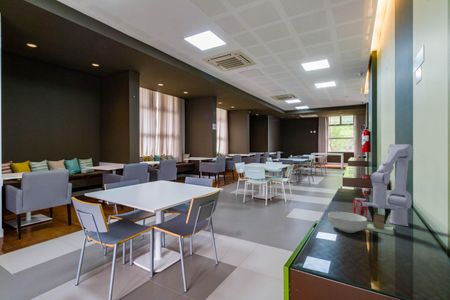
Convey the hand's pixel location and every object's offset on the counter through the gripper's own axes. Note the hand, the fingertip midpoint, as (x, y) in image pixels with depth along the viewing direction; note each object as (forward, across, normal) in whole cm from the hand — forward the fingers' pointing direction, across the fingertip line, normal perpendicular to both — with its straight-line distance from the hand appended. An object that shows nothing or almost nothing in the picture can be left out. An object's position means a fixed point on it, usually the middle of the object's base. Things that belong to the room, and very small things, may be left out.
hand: (378, 222), depth 112 cm
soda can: (+3, -9, +12) cm, 15 cm away
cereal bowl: (+3, -13, -13) cm, 19 cm away
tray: (+3, 0, 0) cm, 3 cm away
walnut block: (+2, 0, 0) cm, 2 cm away
